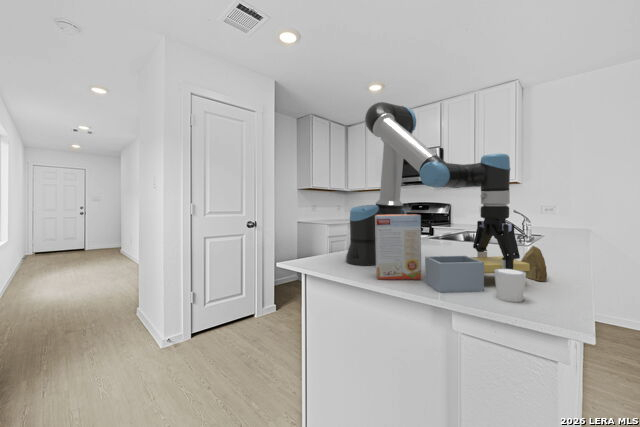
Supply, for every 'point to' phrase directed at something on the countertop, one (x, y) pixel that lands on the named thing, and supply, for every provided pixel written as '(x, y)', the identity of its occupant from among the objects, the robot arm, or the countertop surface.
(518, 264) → the lid
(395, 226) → the cracker box
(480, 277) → the tub
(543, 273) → the rock
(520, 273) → the white cup
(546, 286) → the countertop surface
